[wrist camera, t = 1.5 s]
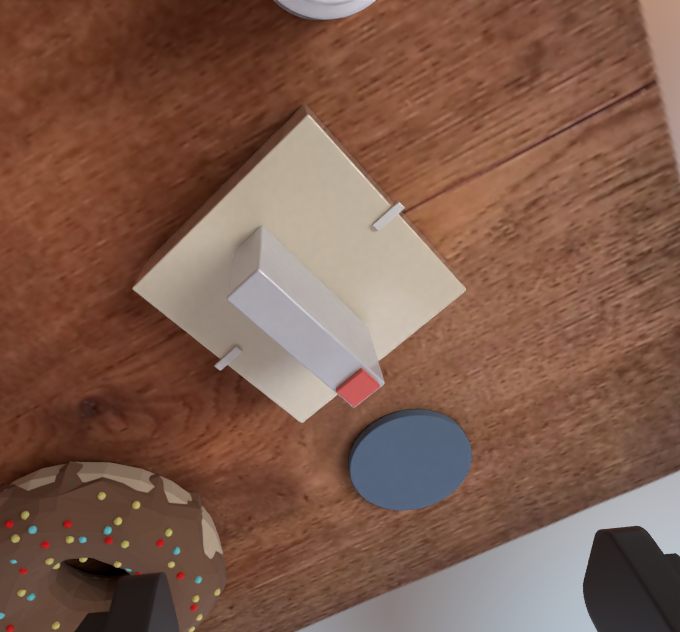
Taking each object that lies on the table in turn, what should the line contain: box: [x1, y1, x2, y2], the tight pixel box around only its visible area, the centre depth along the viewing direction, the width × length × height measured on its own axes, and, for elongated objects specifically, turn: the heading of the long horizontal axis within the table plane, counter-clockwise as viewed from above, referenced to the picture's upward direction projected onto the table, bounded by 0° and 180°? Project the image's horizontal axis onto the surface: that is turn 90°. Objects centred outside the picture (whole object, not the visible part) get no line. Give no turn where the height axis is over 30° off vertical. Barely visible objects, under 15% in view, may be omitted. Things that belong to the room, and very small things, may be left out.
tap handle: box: [226, 226, 385, 408], centre depth 22 cm, size 6×2×5 cm, turn 42°
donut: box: [0, 461, 227, 632], centre depth 31 cm, size 14×14×5 cm
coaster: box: [349, 409, 472, 510], centre depth 33 cm, size 7×7×1 cm
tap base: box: [132, 104, 466, 423], centre depth 25 cm, size 11×10×3 cm
